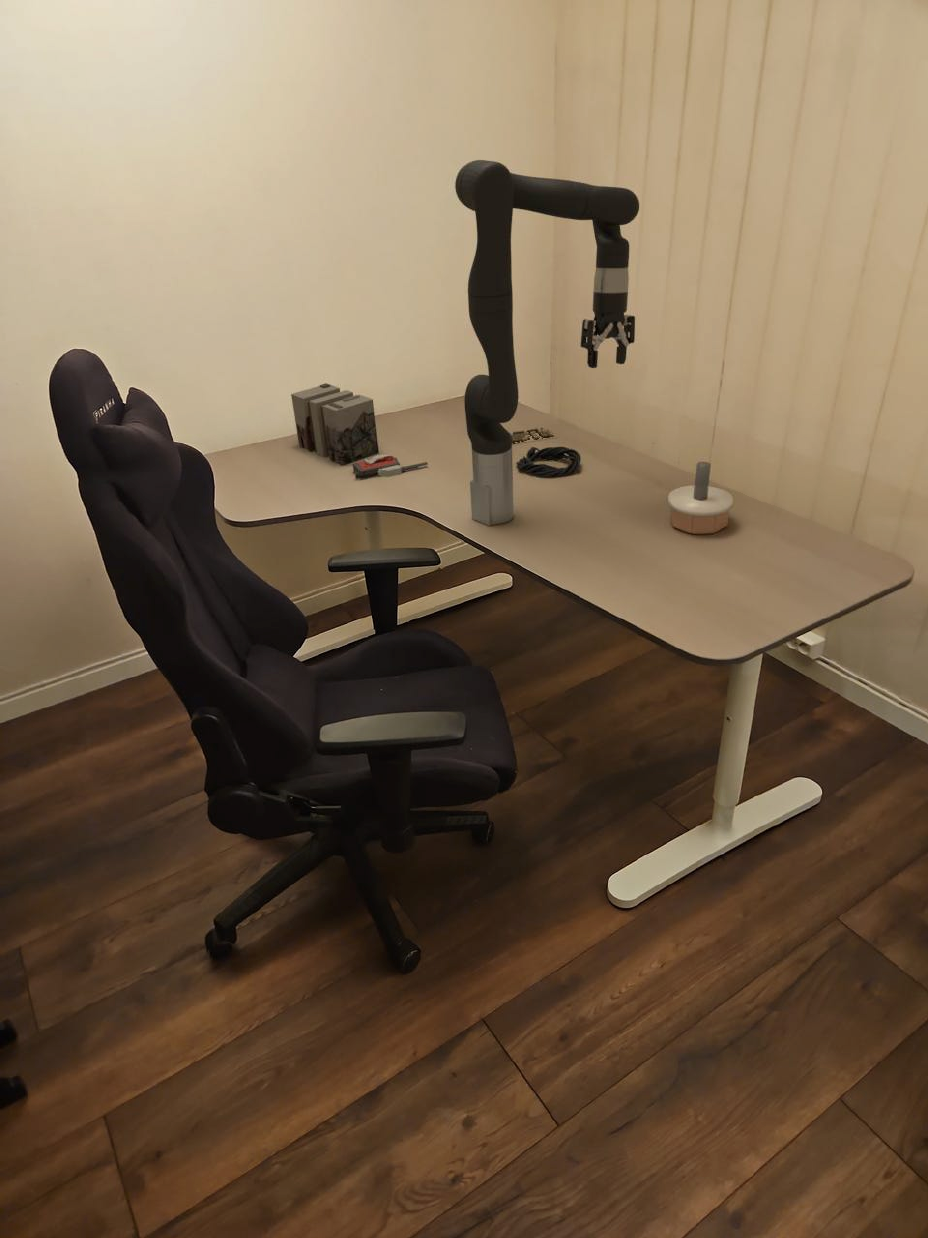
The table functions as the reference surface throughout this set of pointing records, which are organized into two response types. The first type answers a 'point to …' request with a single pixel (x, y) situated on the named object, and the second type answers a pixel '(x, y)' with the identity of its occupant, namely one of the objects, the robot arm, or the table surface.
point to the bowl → (699, 522)
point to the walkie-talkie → (381, 467)
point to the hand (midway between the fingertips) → (606, 365)
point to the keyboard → (532, 432)
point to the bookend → (335, 423)
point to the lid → (700, 496)
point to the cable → (550, 454)
